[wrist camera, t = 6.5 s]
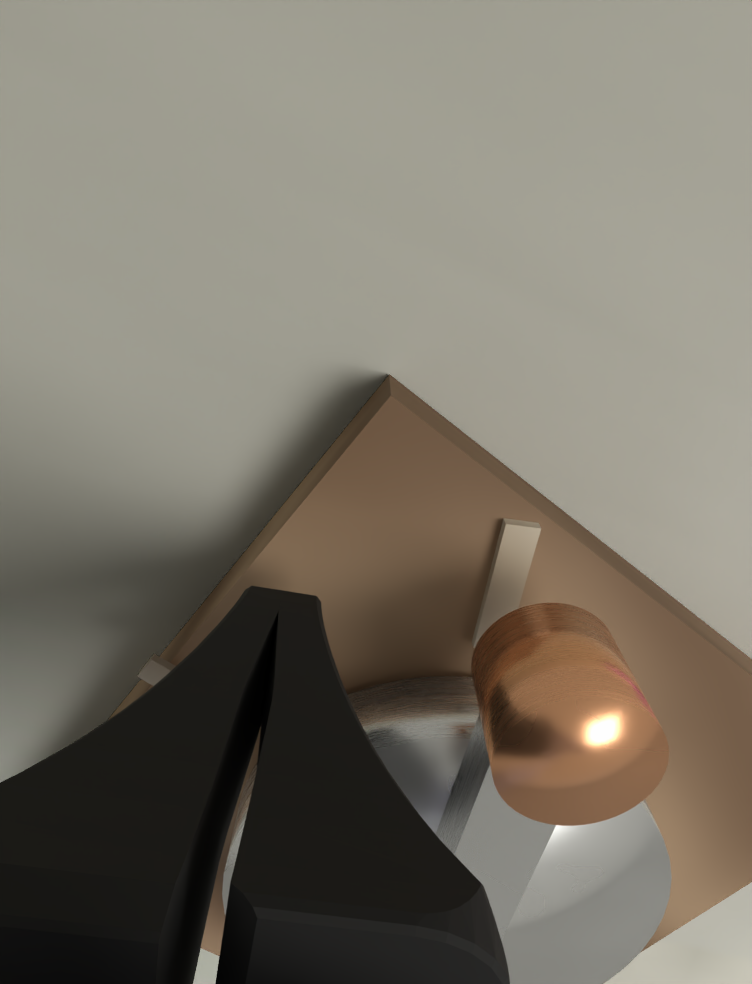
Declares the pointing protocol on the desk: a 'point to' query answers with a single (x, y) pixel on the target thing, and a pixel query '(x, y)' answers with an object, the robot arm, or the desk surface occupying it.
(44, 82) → the desk surface
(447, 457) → the dial plate
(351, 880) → the robot arm
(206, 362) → the desk surface
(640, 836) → the dial
